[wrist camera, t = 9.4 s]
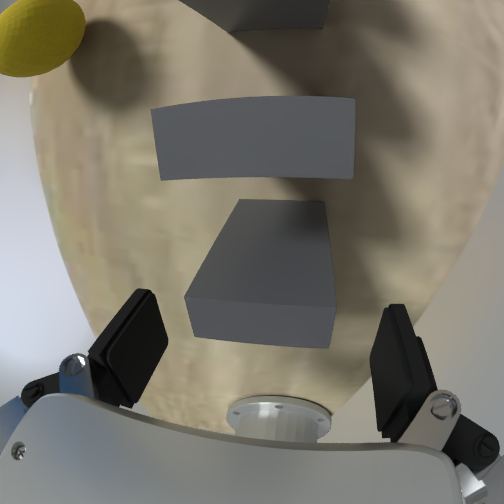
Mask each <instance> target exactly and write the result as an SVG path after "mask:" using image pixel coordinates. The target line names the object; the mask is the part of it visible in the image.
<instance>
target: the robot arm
mask: <svg viewBox="0 0 504 504" xmlns="http://www.w3.org/2000/svg"><path fill="white" fill-rule="evenodd" d="M167 346H168V336H167V333H166V330H165V327H164V324H163V320H162V317H161V314H160V310H159V307H158V304H157V300H156V297H155V294H153V293H152V291H151V290H148V289H140V288H138V289H136V290H135V292H134V293H133V294H132V295H131V296H130V298H129V299H128V300H127V301H126V303H125V304H124V305H123V306H122V308H121V309H120V310H119V311H118V313H117V314H116V315H115V316H114V318H113V319H112V320H111V322H110V323H109V324H108V325H107V327H106V328H105V329H104V331H103V332H102V333H101V335H100V336H99V337H98V338H97V340H96V341H95V342H94V344H93V345H92V347H91V348H90V349H89V351H88V352H89V355H88V356H87V357H86V356H85V355H83V354H79V353H76V354H72V355H70V356H68V357H66V358H65V359H64V360H63V361H62V363H61V365H60V368H59V372H58V373H55V374H52V375H49V376H46V377H43V378H41V379H37V380H34V381H32V382H30V383H28V384H27V385H26V386H25V387H24V388H23V390H22V393H21V398H20V397H19V396H16V397H15V398H13V399H12V400H10V401H9V402H7V403H6V404H4V405H3V406H1V407H0V504H463V502H462V496H463V497H464V499H465V501H466V504H504V455H503V456H502V457H501V456H500V454H499V450H500V446H499V442H498V440H497V438H496V437H495V436H494V435H493V434H492V433H490V432H488V431H487V430H485V429H484V428H482V427H481V426H479V425H478V424H476V423H474V422H473V421H471V420H470V419H468V418H467V417H465V416H463V415H462V414H460V413H461V404H460V401H459V399H458V398H457V396H456V395H454V394H453V393H452V392H449V391H447V390H438V389H437V386H436V382H435V379H434V375H433V372H432V369H431V366H430V362H429V359H428V356H427V353H426V351H425V347H424V344H423V342H422V339H421V338H420V337H419V336H418V337H416V335H415V333H414V329H413V327H412V324H411V321H410V318H409V316H408V313H407V310H406V308H405V305H404V304H390V305H389V307H388V308H384V311H383V314H382V318H381V322H380V325H379V328H378V332H377V335H376V338H375V341H374V345H373V348H372V351H371V354H370V368H371V375H372V383H373V390H374V400H375V408H376V419H377V429H378V431H379V432H380V431H382V438H390V439H391V442H385V443H317V439H319V438H320V437H322V436H324V435H325V434H327V433H328V432H329V430H330V429H331V416H330V414H329V413H328V412H327V411H326V410H325V409H324V408H322V407H320V406H319V405H317V404H314V403H311V402H309V401H305V400H301V399H297V398H291V397H283V396H255V397H250V398H245V399H242V400H239V401H237V402H235V403H233V404H232V405H231V406H230V407H229V409H228V412H227V417H226V419H227V422H228V423H229V425H230V426H231V427H232V428H233V429H234V430H236V434H235V436H234V435H228V434H222V433H216V432H211V431H206V430H201V429H196V428H192V427H187V426H183V425H179V424H174V423H170V422H167V421H163V420H159V419H155V418H151V417H148V416H145V415H141V414H138V413H135V412H132V411H129V410H125V409H122V408H119V406H120V404H121V405H122V406H125V407H128V408H132V407H133V405H134V403H137V402H138V401H139V399H140V397H141V395H142V393H143V391H144V389H145V387H146V386H147V384H148V382H149V380H150V378H151V376H152V374H153V372H154V370H155V368H156V366H157V365H158V363H159V361H160V359H161V357H162V355H163V353H164V351H165V350H166V348H167ZM461 490H462V492H461Z"/></svg>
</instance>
